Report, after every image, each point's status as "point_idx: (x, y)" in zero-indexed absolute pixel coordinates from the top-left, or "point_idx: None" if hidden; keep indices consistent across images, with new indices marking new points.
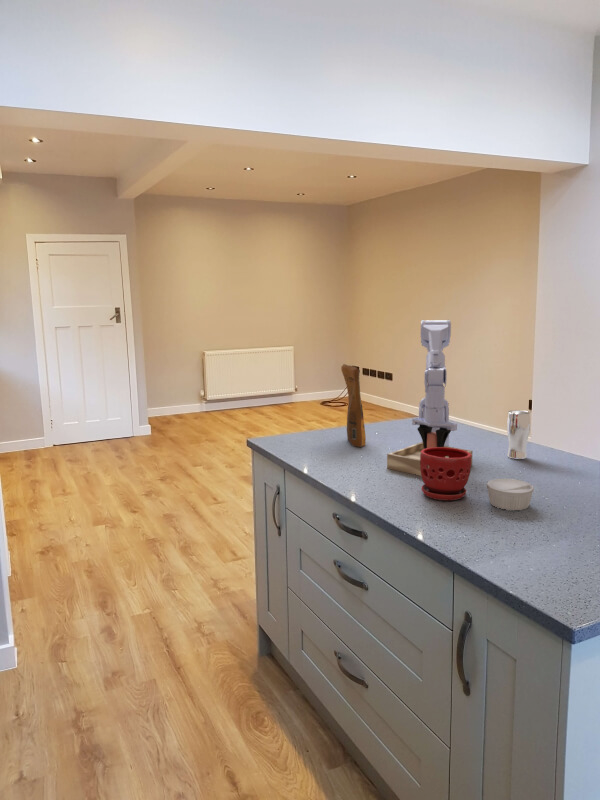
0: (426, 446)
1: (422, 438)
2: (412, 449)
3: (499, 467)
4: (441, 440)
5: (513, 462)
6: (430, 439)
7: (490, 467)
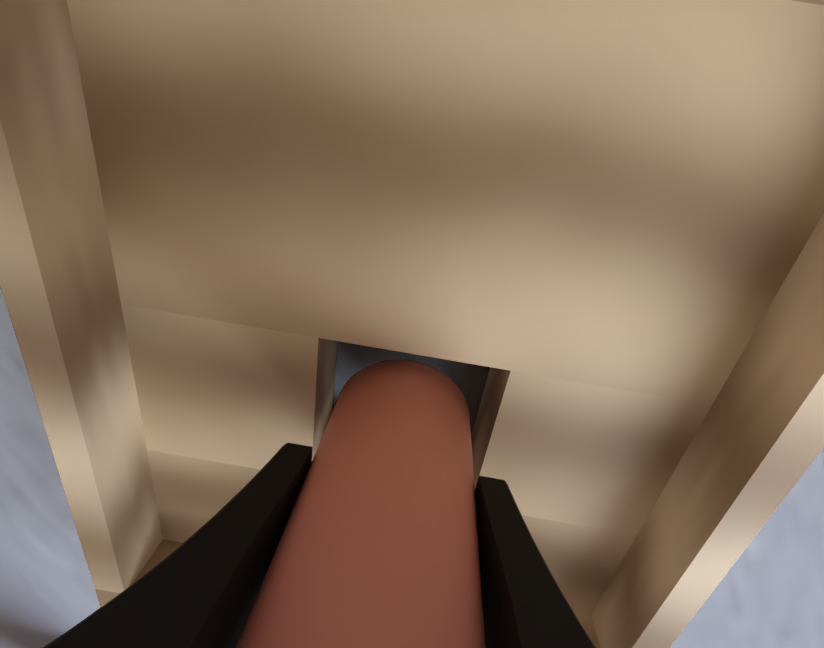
0: (482, 516)
1: (573, 638)
2: (679, 523)
3: (25, 512)
4: (130, 592)
5: (47, 608)
6: (367, 599)
7: (60, 493)
